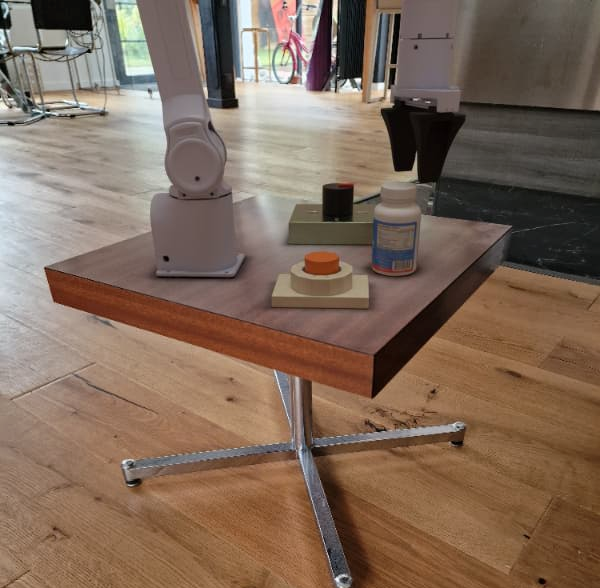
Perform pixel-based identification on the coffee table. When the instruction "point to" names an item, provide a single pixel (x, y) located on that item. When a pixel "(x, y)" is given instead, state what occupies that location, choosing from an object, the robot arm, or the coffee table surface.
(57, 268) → the coffee table surface
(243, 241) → the coffee table surface
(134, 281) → the coffee table surface
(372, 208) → the panel
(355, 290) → the switch block
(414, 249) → the pill bottle
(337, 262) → the button
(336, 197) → the dial
